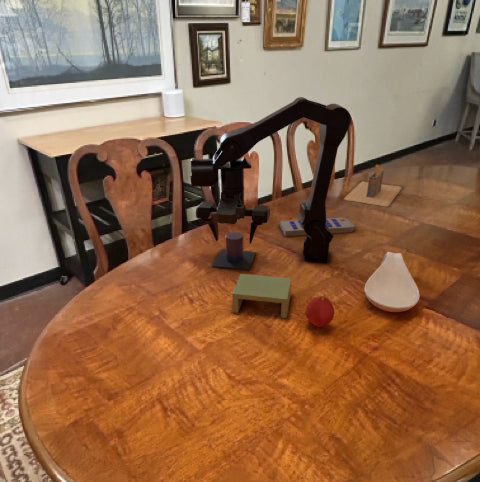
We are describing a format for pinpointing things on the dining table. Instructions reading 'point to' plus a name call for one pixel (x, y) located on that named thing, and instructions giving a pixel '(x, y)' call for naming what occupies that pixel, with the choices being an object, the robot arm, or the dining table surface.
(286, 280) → the shelf
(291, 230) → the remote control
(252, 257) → the mat
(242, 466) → the dining table surface
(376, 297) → the spoon rest
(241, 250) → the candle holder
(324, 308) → the onion
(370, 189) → the architectural model on board
